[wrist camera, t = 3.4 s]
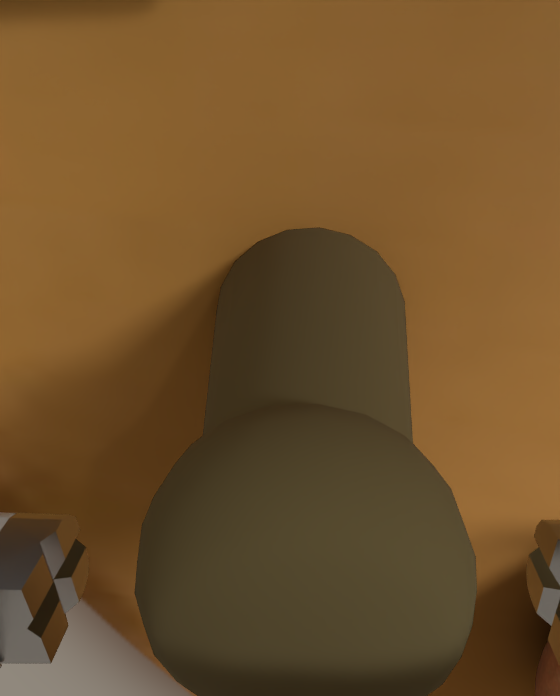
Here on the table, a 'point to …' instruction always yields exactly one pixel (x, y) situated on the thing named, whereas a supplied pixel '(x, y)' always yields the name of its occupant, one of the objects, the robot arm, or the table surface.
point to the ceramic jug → (547, 674)
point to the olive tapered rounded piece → (307, 496)
